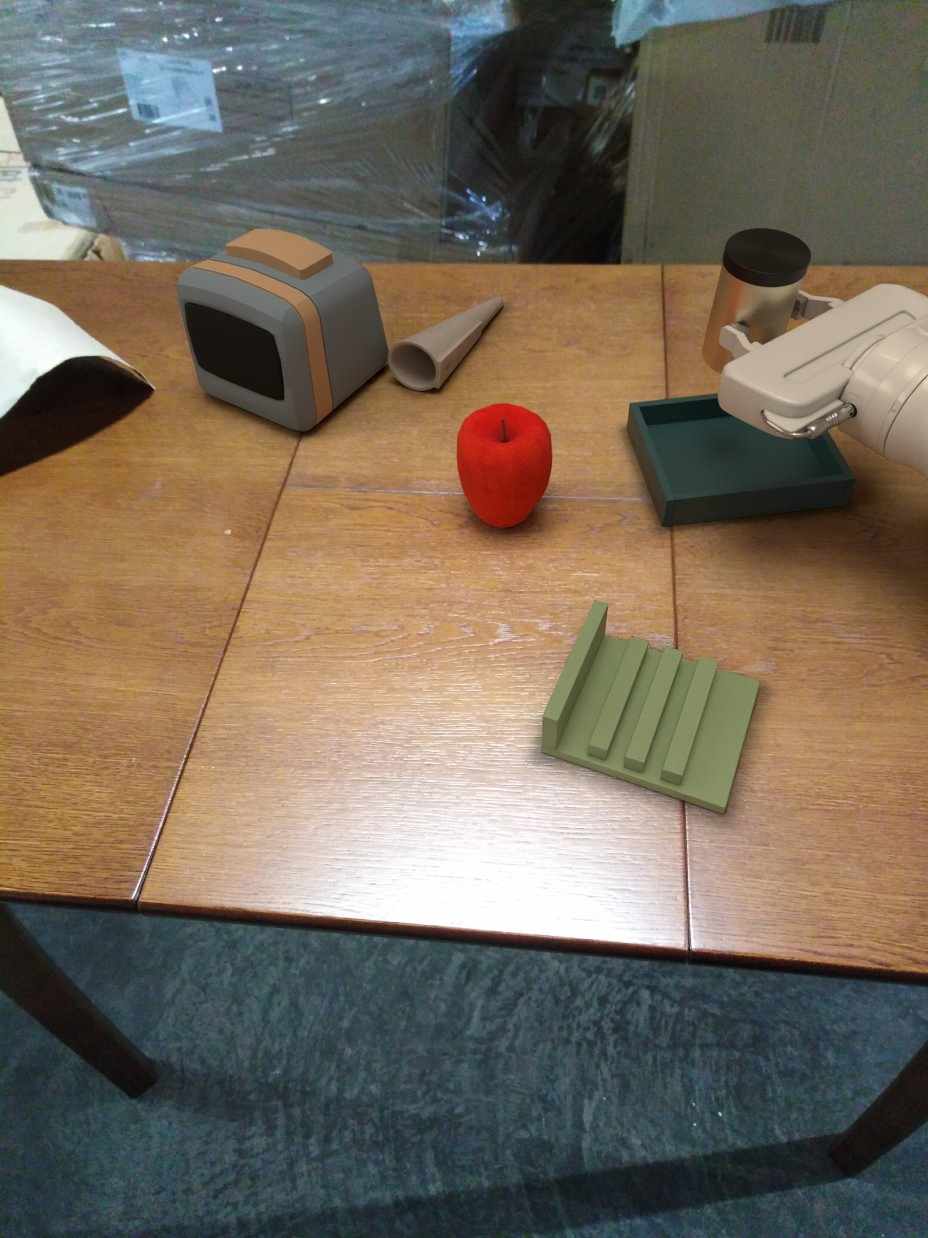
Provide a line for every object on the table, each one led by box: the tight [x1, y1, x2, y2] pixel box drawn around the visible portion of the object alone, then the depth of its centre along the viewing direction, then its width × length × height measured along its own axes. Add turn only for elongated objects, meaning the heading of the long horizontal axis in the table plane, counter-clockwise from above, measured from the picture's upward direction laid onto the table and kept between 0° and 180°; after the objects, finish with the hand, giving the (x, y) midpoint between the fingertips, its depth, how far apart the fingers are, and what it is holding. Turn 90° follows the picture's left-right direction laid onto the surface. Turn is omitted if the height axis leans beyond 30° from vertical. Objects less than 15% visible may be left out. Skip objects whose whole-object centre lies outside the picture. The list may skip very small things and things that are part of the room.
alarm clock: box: [176, 228, 390, 433], centre depth 95 cm, size 16×16×16 cm
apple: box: [456, 402, 553, 529], centre depth 82 cm, size 9×9×11 cm
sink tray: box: [626, 392, 857, 527], centre depth 87 cm, size 18×15×3 cm
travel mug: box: [701, 227, 812, 374], centre depth 76 cm, size 7×7×10 cm
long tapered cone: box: [387, 296, 505, 392], centre depth 103 cm, size 6×6×19 cm
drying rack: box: [540, 599, 761, 814], centre depth 68 cm, size 14×12×5 cm
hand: (757, 315), depth 77 cm, fingers closed on travel mug, 6 cm apart
